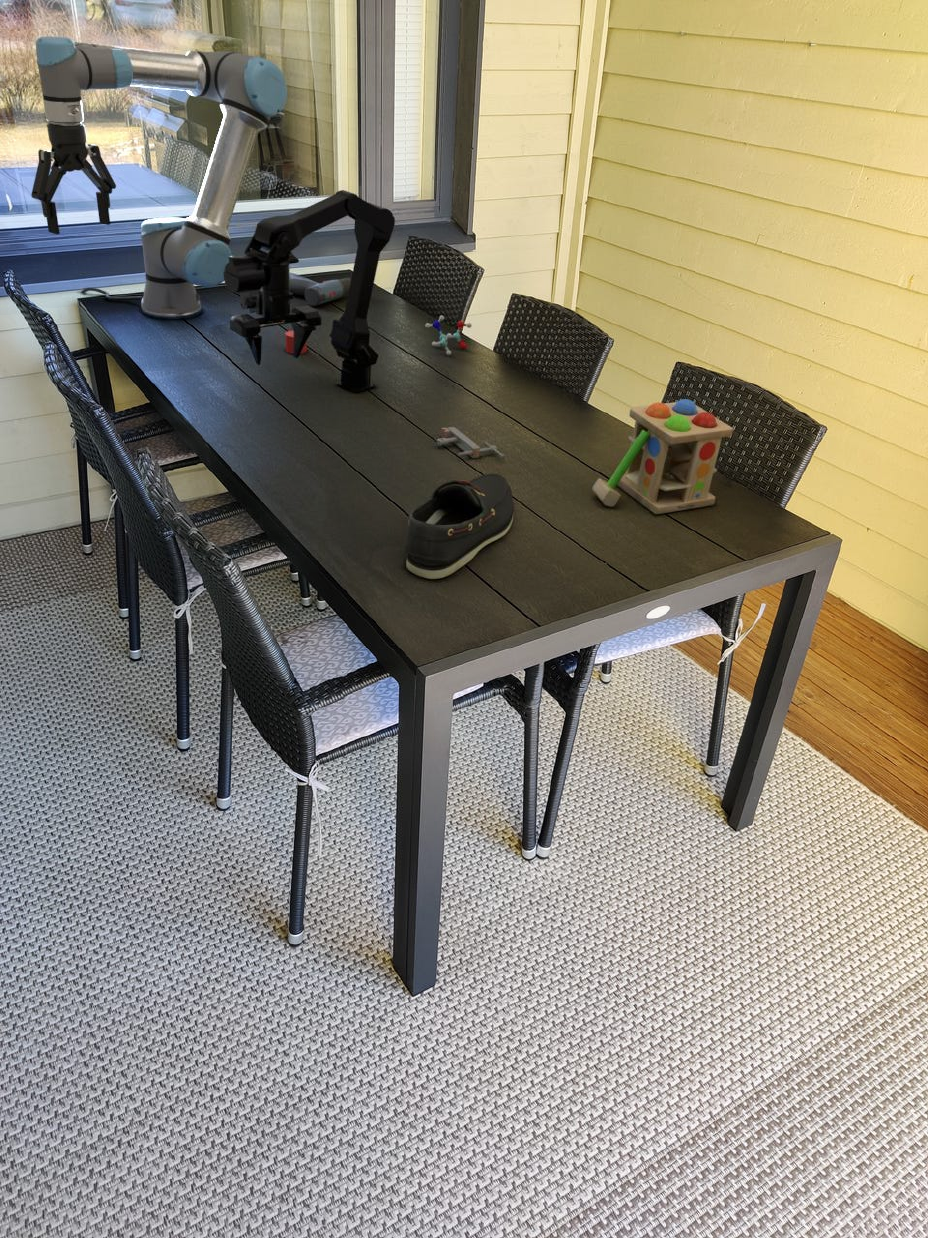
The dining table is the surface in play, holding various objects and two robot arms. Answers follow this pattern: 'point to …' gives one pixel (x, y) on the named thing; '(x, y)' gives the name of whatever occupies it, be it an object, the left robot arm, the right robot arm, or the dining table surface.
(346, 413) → the dining table surface
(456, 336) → the molecular model
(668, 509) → the pounding bench toy
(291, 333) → the canister
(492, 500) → the boat shoe
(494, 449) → the clamp
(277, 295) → the right robot arm
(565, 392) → the dining table surface
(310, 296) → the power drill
